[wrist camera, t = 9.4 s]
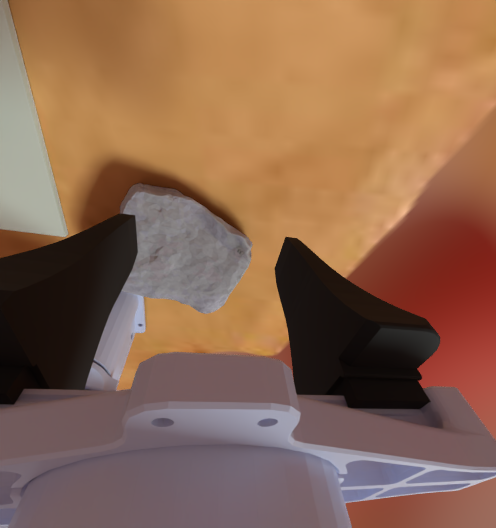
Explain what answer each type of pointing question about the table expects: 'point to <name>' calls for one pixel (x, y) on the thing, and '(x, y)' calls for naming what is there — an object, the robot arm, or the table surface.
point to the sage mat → (23, 147)
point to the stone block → (183, 249)
